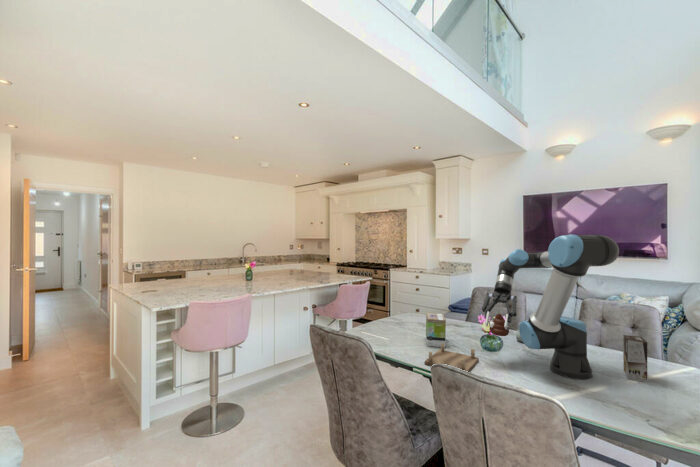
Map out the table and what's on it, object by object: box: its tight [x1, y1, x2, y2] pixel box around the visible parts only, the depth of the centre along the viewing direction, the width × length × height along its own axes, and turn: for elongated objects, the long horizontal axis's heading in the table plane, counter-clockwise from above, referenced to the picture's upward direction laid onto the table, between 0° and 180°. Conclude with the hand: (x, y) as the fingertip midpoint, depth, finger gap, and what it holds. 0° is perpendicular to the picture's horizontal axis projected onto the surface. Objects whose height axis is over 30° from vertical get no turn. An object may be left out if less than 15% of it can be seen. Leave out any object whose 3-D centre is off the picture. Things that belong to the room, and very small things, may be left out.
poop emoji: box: [488, 313, 510, 337], centre depth 149 cm, size 10×8×9 cm
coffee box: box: [622, 334, 648, 383], centre depth 133 cm, size 9×6×16 cm
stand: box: [424, 343, 480, 373], centre depth 149 cm, size 19×19×6 cm
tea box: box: [425, 312, 447, 348], centre depth 178 cm, size 15×10×15 cm, turn 168°
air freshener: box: [515, 321, 524, 343], centre depth 179 cm, size 11×8×10 cm
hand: (495, 326), depth 146 cm, fingers closed on poop emoji, 8 cm apart
